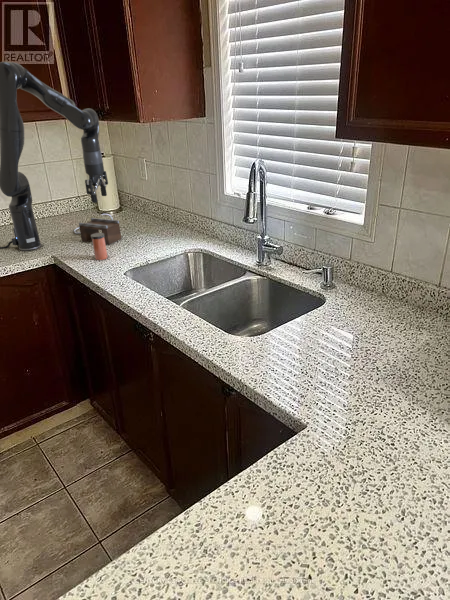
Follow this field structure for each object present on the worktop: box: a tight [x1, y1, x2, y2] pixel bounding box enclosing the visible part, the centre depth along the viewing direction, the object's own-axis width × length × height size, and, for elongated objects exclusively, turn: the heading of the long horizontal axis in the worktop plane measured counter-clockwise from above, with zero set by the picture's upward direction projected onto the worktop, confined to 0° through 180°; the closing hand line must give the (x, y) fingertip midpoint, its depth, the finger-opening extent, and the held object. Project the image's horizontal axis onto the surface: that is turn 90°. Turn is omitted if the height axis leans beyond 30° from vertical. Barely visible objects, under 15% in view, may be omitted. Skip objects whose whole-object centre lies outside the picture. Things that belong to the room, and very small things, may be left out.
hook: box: [73, 213, 114, 235], centre depth 223 cm, size 7×9×20 cm
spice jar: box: [91, 232, 108, 261], centre depth 184 cm, size 5×5×10 cm
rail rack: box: [78, 217, 122, 246], centre depth 207 cm, size 16×9×9 cm, turn 64°
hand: (99, 199), depth 193 cm, fingers open, 8 cm apart
